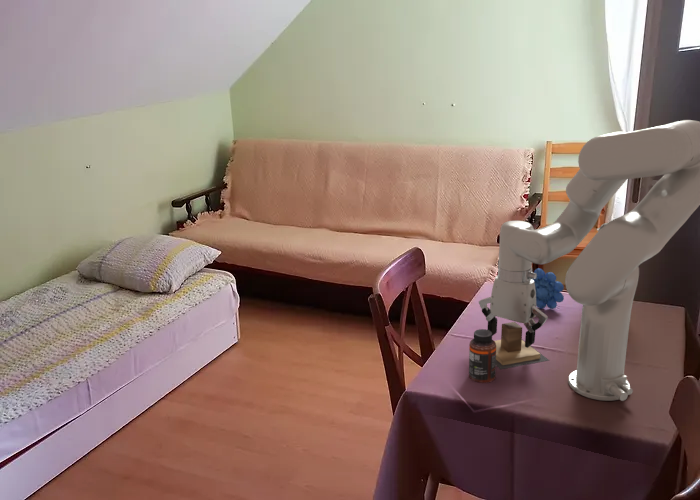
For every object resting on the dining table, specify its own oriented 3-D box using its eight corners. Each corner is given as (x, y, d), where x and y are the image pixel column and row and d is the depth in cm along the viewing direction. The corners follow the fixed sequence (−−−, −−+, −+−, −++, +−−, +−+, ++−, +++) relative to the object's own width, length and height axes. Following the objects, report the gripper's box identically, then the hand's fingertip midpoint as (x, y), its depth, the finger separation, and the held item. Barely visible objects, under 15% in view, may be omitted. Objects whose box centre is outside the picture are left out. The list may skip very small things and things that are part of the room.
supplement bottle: (493, 371, 146) (495, 327, 143) (496, 384, 140) (498, 338, 137) (467, 371, 147) (468, 326, 143) (469, 384, 141) (470, 338, 138)
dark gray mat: (549, 361, 150) (549, 360, 150) (500, 370, 146) (500, 369, 146) (520, 339, 162) (520, 337, 162) (474, 347, 158) (474, 345, 158)
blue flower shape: (518, 312, 178) (521, 272, 174) (521, 303, 184) (523, 264, 180) (562, 316, 174) (565, 275, 170) (563, 307, 180) (566, 267, 176)
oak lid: (540, 358, 151) (542, 330, 148) (502, 365, 148) (504, 337, 146) (518, 341, 160) (519, 314, 158) (482, 347, 157) (483, 320, 155)
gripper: (556, 276, 145) (551, 344, 151) (488, 262, 156) (485, 325, 161) (543, 286, 140) (537, 355, 145) (473, 270, 150) (470, 336, 156)
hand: (510, 339), depth 153 cm, fingers open, 9 cm apart
